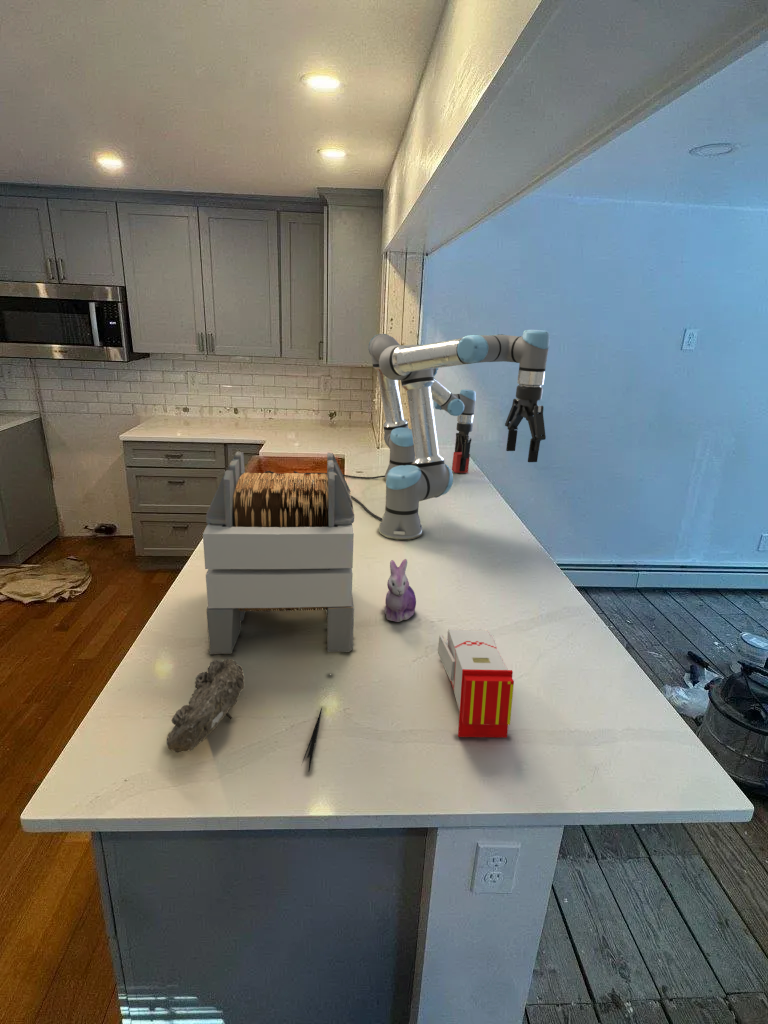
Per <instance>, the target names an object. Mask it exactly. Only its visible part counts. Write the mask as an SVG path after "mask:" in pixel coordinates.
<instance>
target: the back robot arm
mask: <svg viewBox="0 0 768 1024" xmlns="http://www.w3.org/2000/svg"><path fill="white" fill-rule="evenodd" d="M393 345H401V344H400V343H399V342H398V341H397V339H395V338H394V337H393V336H391V335H389V334H386V333H378V334H375V335H374V336H373V337H372V338H370V341H369V343H368V347H367V348H368V349H367V350H368V353H369V355H370V359H371V364H372V368H373V369H375V370H376V373H377V378H378V386H379V390H380V396H381V402H382V403H381V404H382V408H383V414H384V419H385V422H384V423H383V425H382V426H383V432H384V433H383V439H384V443H385V445H386V446H387V448H389V460H388V461H389V463H388V466H387V469H386V471H385V474H384V475H377V476H358V475H357V476H355V475H349V474H343V476H344V477H346V478H353V479H360V480H361V479H363V480H371V479H373V480H374V479H381V478H384V481H385V482H386V480H387V474H388V472H389V470H390V469H392V468H394V467H396V466H400V465H404V466H405V465H412V462H413V461H414V460H415V451H414V443H413V436H412V428H409V423H408V420H406V419H405V417H404V412H403V405H402V400H401V399H402V398H401V394H400V386H399V380H392V379H389V378H387V377H386V376H385V375H384V374H383V373H382V372H381V370H380V367H379V359H380V356H381V354H382V352H383V351H384V350H385V349H386V348H388V347H390V346H393ZM431 394H432V401H433V408H434V410H440V411H445V412H446V413H448V414H449V415H450V416H453V417H457V418H456V419H457V420H456V421H457V424H456V431H458V432H456V433H455V443H454V452H462V457H460V459H461V460H460V469H459V471H460V472H461V471H465V467H466V459H467V458H469V454H470V453H471V443H472V438H470V433H471V432H472V431H473V425H474V424H473V423H474V418H475V408H476V402H477V392H476V391H475V390H474V389H467V388H466V389H461V390H460V391H459V393H452V392H451V391H450V390H449V389H448V388H446V387H445V386H444V385H443V384H442V383H441V382H439V380H437V379H436V378H435V377H434V383H433V384H432V386H431ZM469 459H470V458H469ZM263 473H271V474H272V473H275V472H274V471H271V470H266V471H264V472H263ZM303 473H304V474H306V476H307V474H308V476H309V474H317V475H321V474H327V472H303ZM278 474H279V475H280V474H281V475H282V474H283V475H284V473H277V475H278Z"/></svg>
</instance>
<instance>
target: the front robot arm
mask: <svg viewBox="0 0 768 1024" xmlns="http://www.w3.org/2000/svg"><path fill="white" fill-rule="evenodd" d="M550 336H551V335H550V332H549V331H548V330H540V329H539V330H538V329H525V330H524V331H523V333H522V335H521V336H519V335H517V336H516V335H510V334H509V335H507V334H503V333H501V334H489V335H487V334H483V335H482V334H469V335H465V336H463V337H461V338H455V339H448V340H443V341H437V342H432V343H427V344H400V345H393V346H390V347H388V348H386V349H385V350H384V351H383V352H382V354H381V356H380V359H379V367H380V370H381V372H382V373H383V374H384V375H385V376H386V377H387V378H389V379H392V380H398V381H400V384H401V388H402V389H404V390H405V391H406V397H407V404H408V405H407V406H408V412H409V419H410V427H411V428H410V429H412V436H413V443H414V451H415V460H414V461H413V462H412V465H405V466H404V465H400V466H396V467H394V468H392V469H390V470H389V472H388V474H387V480H386V481H385V504H384V505H385V507H384V508H385V509H384V513H383V515H382V517H380V516H378V515H377V514H375V513H373V512H372V511H370V510H369V509H368V507H366V505H364V503H362V502H361V501H360V500H358V499H357V497H355V496H353V495H351V499H352V500H354V501H355V502H356V503H358V504H359V505H360V506H361V507H362V508H363V509H364V511H366V512H367V513H368V514H370V515H371V516H372V517H374V518H375V519H378V520H380V521H381V522H379V527H378V533H379V534H380V535H381V536H382V537H385V538H387V539H389V540H395V541H410V540H415V539H418V538H420V537H421V536H422V535H423V525H422V524H421V518H420V515H419V507H420V506H419V505H420V502H422V501H426V500H430V499H434V498H440V497H441V496H444V495H446V494H448V493H449V491H450V490H451V488H452V486H453V484H454V483H453V482H454V475H453V471H452V468H450V466H449V465H448V464H445V458H444V457H443V456H441V455H440V451H439V443H438V435H437V427H436V418H435V409H434V401H433V399H432V394H431V386H432V384H433V383H434V378H435V376H436V375H437V373H438V370H439V368H440V369H441V368H449V367H454V366H462V365H472V364H479V363H481V364H482V363H501V362H505V363H515V364H518V373H517V386H516V390H515V398H513V399H512V405H511V407H510V410H509V413H508V414H507V415H508V416H507V417H506V421H505V423H504V426H505V427H507V430H508V431H507V432H508V433H507V439H506V449H505V451H506V452H515V451H516V445H517V438H518V430H519V428H518V427H519V425H520V424H521V422H522V421H523V418H524V419H525V420H526V421H527V423H528V424H527V425H528V427H529V431H530V435H531V438H530V439H529V440H530V441H529V448H528V456H527V462H528V463H537V462H538V458H539V451H540V445H541V441H545V440H546V437H547V435H546V428H545V427H546V426H545V419H544V405H538V401H541V400H542V398H543V392H544V388H543V387H542V386H543V385H545V384H544V383H545V377H546V367H547V362H548V356H549V355H548V354H549V350H550ZM293 473H299V472H297V471H296V470H293ZM306 477H307V475H306Z"/></svg>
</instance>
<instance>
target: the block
mask: <svg viewBox="0 0 768 1024" xmlns="http://www.w3.org/2000/svg"><path fill="white" fill-rule="evenodd" d="M460 457H462V452H455V451H454V452H453V454H452V465H451V471H452V472H453V473H455V474H466V473H469V466H470V457H471V454H470V453H469V458H467V459H466V467H465V471H461V472H460V471H459V469H460V460H461V459H460Z"/></svg>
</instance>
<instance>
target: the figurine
mask: <svg viewBox="0 0 768 1024" xmlns="http://www.w3.org/2000/svg"><path fill="white" fill-rule="evenodd" d="M407 567H408V559H406V558H404V559H403V560H402V561H401V563H400V565H399V566H398V565H397V563H396V562H395V561H394V560H393V559H391V560H390V561H389V570H390V576H389V578H388V579H387V589H388V591H387V592H386V594H385V595H386V596H385V607H384V615H385V616H386V620H387V621H391V622H395V623H400V622H402V621H406V620H409V619H410V618H411V617H413V616H414V615H415V610H416V606H417V597H416V593H415V591H414V590H413V587H411V586H410V582H409V579H408V577H407V574H406V571H407Z"/></svg>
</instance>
